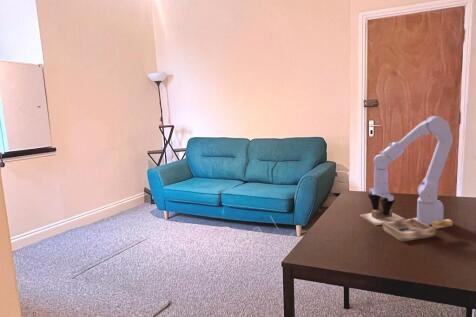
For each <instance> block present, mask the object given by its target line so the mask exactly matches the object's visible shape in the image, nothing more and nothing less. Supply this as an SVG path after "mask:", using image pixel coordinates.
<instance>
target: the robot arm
mask: <svg viewBox="0 0 476 317" xmlns="http://www.w3.org/2000/svg"><path fill="white" fill-rule="evenodd" d="M450 127H451V126H450V124H449V123H448V122H447V121H446V119H444V118H443V117H440V116H438V115H430V116H428V117H427V118H426V119H425V120H424V119H423V121H421V122H420V123H418V124H417V125H416V126H415V127H414V128H412V130H410V131H409V132H408V133H407V134H406V135H404V137H402V139H400V140H399V141H394V142H392V143H391V142H389V143H388V146H387V147H386V148H384V150H380V151H379V154H377V155H375V156H374V158H373V159H372V160H373V165H374V168H373V170H374V171H373V187H369V190H368V191H369V193H368V194H367V196H368V199H370V202H371V205H372V207H371V208H372V210H376V209H380V203H381V206H382V207H381V208H382V209H383V214H384V215H389V213H390V209H392V207H393V205H394V203H395V202H396V201H395V199H394V198H395V196H394V195H392V194H391V193H390V192H389V171H388V167H389V166H390V163H392V162H393V161H395V160H396V159H397V158H399V156H401V155H402V154H403V153H405V147H407V146H408V145H410V144H412V142H414V141H415V140H417V139H418V138H419V137H420V136H424V135H430V134H431V133H432V134H433V135H434V137H435V139H436V140H437V143H436V146H435V149H434V151H433V154H432V157H431V160H430V163H429V165H428V169H427V172H426V174H425V177H424V178H423V180H422V182H421V183H420V184H419V185H418V186H417V189H416V190H417V194H418V198H417V200H416V201H417V202H416V217H413V218H414V219H416V220H418V221H420V222H422V223H424V224H427V225H429V226H430V225H431V226H432V221H438V220H444V204H443V202H442V201H441V200H439V199H438V198H439V197H438V191H439V190H438V189H439V182H440V178H441V176H442V172H443V170H444V166H445V164H446V161H447V159H448V156H449V153H450V150H451V148H452V145H453V142H454V137H453V133H452V131H451V128H450ZM381 198H383V199H381Z"/></svg>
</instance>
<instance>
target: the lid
mask: <svg viewBox="0 0 476 317" xmlns="http://www.w3.org/2000/svg"><path fill="white" fill-rule="evenodd" d="M359 217H360V218H361V217H362V219H364V220H366V221H367V222H369V223H371V224H373V225H374V226H379V225H383V223H386V222H393V221H399V220H406V218H404V216H403V217H402V216H400V215H398V214H396V213H394V212H393V210H392V208H391V209H390V213H389V215H384V214H383V208H378V209H376V210H373V209H372V210H371V212H369V213H362V214H359Z"/></svg>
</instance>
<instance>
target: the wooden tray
mask: <svg viewBox="0 0 476 317" xmlns="http://www.w3.org/2000/svg"><path fill="white" fill-rule="evenodd" d="M414 218H415V217H412V218H407V219H406V218H405V220H399V221H393V222H386V223H383V224H382V231H384V232H385V233H387V234H388V235H390V236H392V237H394V238H395V239H397V240H398V241H401V242H408V241H414V240H420V239H427V238H433V237H436V228H434V227H432V225H431V226H430V225H427V224H424V223H422V222H420V221H418V220H416V219H414Z"/></svg>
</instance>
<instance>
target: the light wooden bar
mask: <svg viewBox="0 0 476 317" xmlns="http://www.w3.org/2000/svg"><path fill="white" fill-rule="evenodd" d="M431 227H433V228H435V229H441V228H442V229H443V228H447V227H448V228H449V227H453V220H452V219H450V218H445V219H443V220H438V221H432V225H431Z"/></svg>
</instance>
